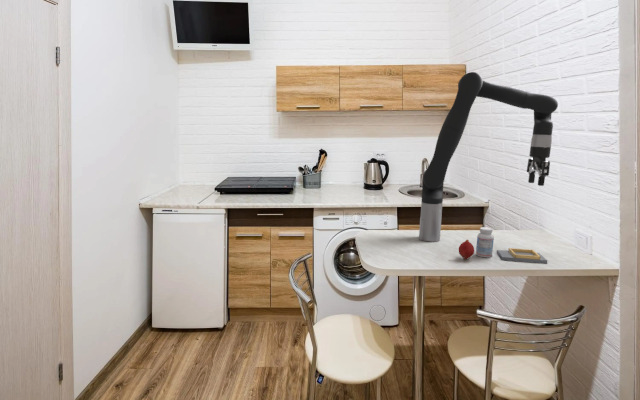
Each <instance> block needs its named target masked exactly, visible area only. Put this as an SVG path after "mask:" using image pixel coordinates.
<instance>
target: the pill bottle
mask: <svg viewBox="0 0 640 400" xmlns="http://www.w3.org/2000/svg"><path fill="white" fill-rule="evenodd" d="M476 238H477V239H476V248H475V249H476V250H475V255H476V256H478V257H481V258H492V256H493V251H494V250H493V249H494V240H495V239H494V238H495V237H494V234H493V228H492V227H486V226H485V227H483V226H482V227H479V232H478V234H477V237H476Z"/></svg>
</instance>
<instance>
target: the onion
mask: <svg viewBox="0 0 640 400" xmlns="http://www.w3.org/2000/svg"><path fill="white" fill-rule="evenodd" d="M458 254H459V255H460V257H462V258H463V259H464V260H469V258H471V257H473V255H474V254H475V248H474V245H473V244H472V243H471V242H470V241H469V239H466V240H465V241H463V242H462V243H460V245H459V246H458Z"/></svg>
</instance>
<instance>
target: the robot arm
mask: <svg viewBox="0 0 640 400" xmlns="http://www.w3.org/2000/svg"><path fill="white" fill-rule="evenodd" d="M476 98H484V99H489V100H493V101H495V102H496V101H497V102H499V103H502V104H506V105H510V106H513V107H516V108H520V109H523V110H532V111H533V130H532V137H531V140H530V147H529V149H530V150H529V155H528V156H529V157H530V158H528V161H527V167H526V172H527V173H528V182H527V183H528V184H534V183H535V180H536V173H538V179H537V186H539V187H540V186H541V187H543V186H545V180H546V178H545V177H548V176H549V175H550V166H551V165H550V164H551V161H550V160H547V159H549V158H550V157H551V156H550V155H551V149H552V143H553V142H552V139H553V137H552V135H553V127H554V123H553V121H552V113H555V111H556V110H557V109H558V106H559V103H558V100H557V99H556V98H555V97H553V96H550V95H546V94H542V93H535V92H531V91H528V90H526V89H525V90H524V89H520V88H519V87H518V88H517V87H512V86H507V85H506V86H505V85H501V84H495V83H490V82H488V81H485V80H483V78H482V76H481V74H479V73H478V72H474V71H471V72H470V71H469V72H467V73H465V74H464V75H463V76H461V78H460V79H459V80H458V82H457V92H456V96H455V99H454V102H453V104H452V106H451V108H450V109H449V112H448V113H447V115H446V116H445V119H444V122H443V123H442V126H441V127H440V131H439V134H438V137H437V140H436V144H435V148H434V153H433V156H432V158H431V160H430V162H429V164H428V167H427V168H426V170H425V171H424V172H423V175H422V184H421V185H422V186H421V189H422V191H421V204H420V206H421V207H420V217H419V231H418V232H419V233H418V239H419V241H425V242H433V243H434V242H439V241H440V240H441V229H442V228H441V227H442V217H443V216H442V213H443V201H444V182H445V179H446V174H447V170H448V168H449V164H450V162H451V160H452V158H453V156H454V154H455V152H456V149H457V148H458V145H459V143H460V142H461V139H462V137H463V134H464V131H465V129H466V126H467V122H468V119H469V116H470V111H471V110H472V106H473V105H474V103H475V100H476Z"/></svg>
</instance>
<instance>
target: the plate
mask: <svg viewBox="0 0 640 400" xmlns="http://www.w3.org/2000/svg"><path fill="white" fill-rule="evenodd" d="M496 254H497V256H499V258H500V259H501V260H502V261H509V262H511V261H512V262H524V263H535V264H536V263H537V264H548V259H546V257H544V256H543V255H542V254H541V253H540V252H536V251H535V250H534V249H527V248H526V249H525V248H513V247H512V248H511V247H509V248H508V250H505V249H504V250H503V249H502V250H501V249H496Z"/></svg>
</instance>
